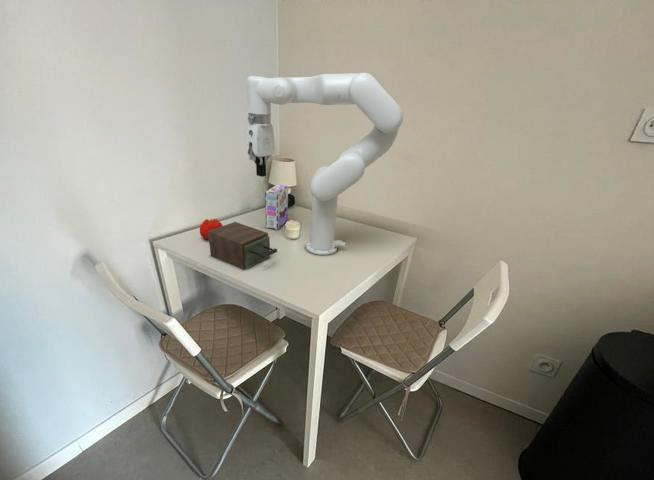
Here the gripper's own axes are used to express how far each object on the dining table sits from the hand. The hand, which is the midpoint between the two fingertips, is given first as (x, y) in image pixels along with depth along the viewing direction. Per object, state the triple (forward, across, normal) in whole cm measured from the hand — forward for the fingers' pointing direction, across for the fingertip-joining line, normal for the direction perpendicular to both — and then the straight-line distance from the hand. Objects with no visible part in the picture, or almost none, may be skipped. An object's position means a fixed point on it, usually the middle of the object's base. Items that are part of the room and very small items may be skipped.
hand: (261, 175), depth 126 cm
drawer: (+26, -15, -6) cm, 31 cm away
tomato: (+27, -10, +19) cm, 35 cm away
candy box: (+27, +21, +9) cm, 35 cm away
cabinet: (+27, -15, -1) cm, 31 cm away
